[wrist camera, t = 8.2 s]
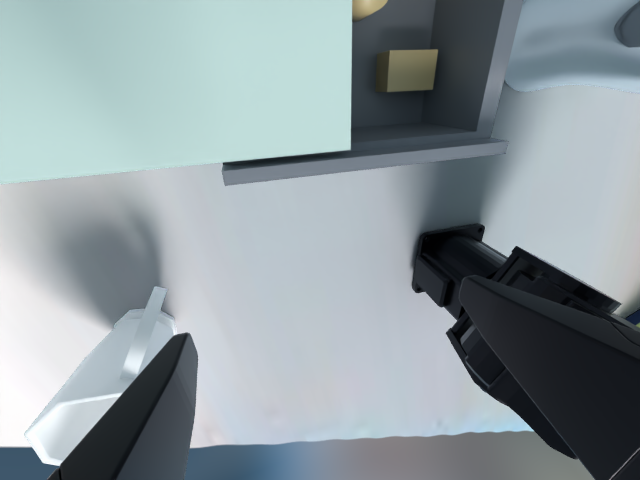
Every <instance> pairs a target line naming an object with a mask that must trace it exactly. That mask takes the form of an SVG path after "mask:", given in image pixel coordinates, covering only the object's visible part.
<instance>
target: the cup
mask: <svg viewBox="0 0 640 480" xmlns="http://www.w3.org/2000/svg"><path fill="white" fill-rule="evenodd" d="M167 290H168V289H166V288H161V287H156V286H155V287H154V289H153V291H152V294H151V296H150V298H149V301H148V303H147V306H146V308H145V309H134V310H129V311H128V312H127V313H126V314H125V315H124V316H123V317H122V318H121V319H119V320H118V321H117V322H116V323H115V325H114V327H113V328H114V329H113V330H112V331H111V332H110V333H109V334H108V335H107V336H106V337H105V338H104V339H103V340H102V341H101V342H100V343H99V344H98V345H97V346H96V347H95V348H94V349H93V350H92V351H91V352H90V353H89V354H88V355H87V356H86V357H85V359H84V360H83V361H82V362H81V364H80V365H79V366H78V367H77V369H76V370H75V371H74V372H73V374H72V375H71V376H70V378H69V379H68V380H67V381H66V383H65V384H64V385H63V386H62V388H61V389H60V390H59V391H58V393H57V394H56V395H55V396H54V397H53V399H52V400H51V401H50V402H49V403H48V405H47V406H46V407H45V408H44V410H43V411H42V412H41V413H40V414H39V416H38V417H37V418H36V419H35V421H34V422H33V423H32V425H31V426H30V427H29V428H28V430H27V431H26V432H25V433H24V435H25V437H26V438H27V440H28V441H29V443H30V444H31V446H32V447H33V449H34V450H35V452H36V453H37V455H38V456H39V458H40V459H41V460H42V462H43V463H46V464H52V465H58V466H60V464H61V463H62V462H63V461H64V459H65V458H66V457H67V456H68V455H69V454H70V453H71V451H72V450H73V449H74V448H75V447H76V446H77V445H78V443H79V442H80V441H81V440H82V439H83V438H84V437H85V435H86V434H87V433H88V432H89V431H90V430H91V429H92V428H93V426H94V425H95V424H96V423H97V422H98V421H99V420H100V418H101V417H102V416H103V415H104V414H105V413H106V412H107V410H108V409H109V408H110V407H111V406H112V405H113V404H114V402H115V401H116V400H117V399H118V398H119V397H120V396H121V394H122V393H123V392H124V391H125V390H126V389H127V388H128V386H129V385H130V384H131V383H132V382H133V381H134V380H135V378H136V377H137V376H138V375H139V374H140V373H141V372H142V371H143V369H144V368H145V367H146V366H147V365H148V364H149V363H150V361H151V360H152V359H153V358H154V357H155V356H156V355H157V353H158V352H159V351H160V350H161V349H162V348H163V347H164V345H165V344H166V343H167V342H168V341H169V340H170V339H171V337H173V336H174V335H177V330H176V325H175V320H174V317H172V316H170V315H168V314H166V313H164V312H162V311H160V310H161V307H162V304H163V301H164V298H165V295H166V293H167Z"/></svg>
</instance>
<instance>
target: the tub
mask: <svg viewBox="0 0 640 480" xmlns="http://www.w3.org/2000/svg"><path fill="white" fill-rule="evenodd" d="M523 1H524V0H352V69H351V150H345V151H335V152H325V153H314V154H304V155H294V156H284V157H274V158H263V159H253V160H243V161H233V162H223V168H222V175H223V179H224V184H225V186H227V185H236V184H245V183H253V182H262V181H271V180H279V179H288V178H297V177H306V176H314V175H323V174H332V173H340V172H349V171H358V170H366V169H375V168H384V167H393V166H401V165H410V164H419V163H427V162H436V161H445V160H453V159H462V158H471V157H480V156H488V155H497V154H505V153H506V150H507V146H508V142H509V141H504V140H498V139H493V138H490V137H491V133H492V129H493V125H494V120H495V116H496V112H497V108H498V104H499V100H500V96H501V92H502V87H503V83H504V79H505V75H506V71H507V67H508V63H509V58H510V54H511V50H512V46H513V42H514V38H515V34H516V29H517V25H518V21H519V17H520V13H521V9H522V5H523Z"/></svg>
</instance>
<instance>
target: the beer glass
mask: <svg viewBox="0 0 640 480" xmlns="http://www.w3.org/2000/svg"><path fill="white" fill-rule="evenodd" d="M504 80H505V81H506V83H507V84H508V85H509V86H510V87H511V88H512V89H514V90H517V91H520V92H531V91H536V90H541V89H546V88H551V87H555V86H562V85H589V86H596V87H603V88H608V89H614V90H619V91H625V92H631V93H637V94H640V0H525V1H524V2H523V5H522V9H521V13H520V17H519V21H518V25H517V29H516V34H515V38H514V42H513V46H512V50H511V54H510V58H509V63H508V67H507V71H506V75H505V79H504Z"/></svg>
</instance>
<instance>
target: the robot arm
mask: <svg viewBox="0 0 640 480" xmlns="http://www.w3.org/2000/svg"><path fill="white" fill-rule="evenodd" d="M484 230H485V227H484V226H483V225H481V224H473V225H467V226H461V227H455V228H450V229H444V230H438V231H432V232H427V233H423V234H422V235H421V236H420V240H419V247H418V254H417V258H416V265H415V271H414V278H413V279H414V280H413V287H412V288H413V290H414V291H415V292H416V293H421V292H426V293H427V294H428V295H429V296H430V297H431V299H432V300H433V301H434V302H435V303H436V304H437V305H438V306H439V307H445V309H446V310H447V311H448V312H449V313H450V314H451V315H452V316H453V317H454V318H455V319H456V320H457V322H456V323H455V324H454V326H453V327H452V328H450V329H449V330H448V331H447V332H446V334H447V336H448V338H449V340H450V341H451V344H452V345H453V347H454V349H455V350H456V352H457V354H458V355H459V357H460V359H461V361H462V362H463V364H464V366H465V367H466V369H467V371H468V373H469V374H470V376H471V378H472V379H473V381H474V382H475V383H476V384H477V385H478V386H479V387H480V388H481V389H482V390H483V391H484V392H486V393H488V394H489V395H490V396H492V397H493V398H494V399H496V400H497V401H499V402H501V403H502V404H504V405H507V406H509V407H510V408H511V409H512V410H513V411H514V412H516V413H517V414H518V415H519V416H520V417H521V418H522V419H523V420H524V421H525V422H526V423H527V424H528V425H529V426H530V427H531V428H532V429H533V430H534V431H535V432H536V433H537V434H538V435H539V436H540V437H541V438H542V439H543V440H544V441H545V442H546V443H547V444H548V445H549V446H550V447H552V448H553V449H555V450H557V451H559V452H561V453H563V454H565V455H566V456H568V457H570V458H573V459H579V460H580V461H581V462H582V464H583V465H584V466H585V468H586V469H587V470H588V471H589V473H590V474H591V475H592V476H593V478H594V479H595V480H640V328H639V327H637V326H635V325H634V324H632V323H630V322H629V321H627V320H625V319H623V318H622V317H620V316H618V315H616V314H615V313H613V312H614V311H615V310H616V309H617V308H618V307H619V306H620V305H621V303H620V302H618V301H616V300H614V299H613V298H611V297H609V296H608V295H606V294H604V293H602V292H601V291H599V290H597V289H595V288H594V287H592V286H590V285H588V284H587V283H585V282H583V281H581V280H580V279H578V278H576V277H574V276H572V275H571V274H569V273H567V272H565V271H563V270H561V269H559V268H558V267H556V266H554V265H552V264H550V263H548V262H546V261H545V260H543V259H541V258H539V257H537V256H535V255H533V254H531V253H529V252H527V251H525V250H523V249H521V248H519V247H517V246H516V247H515V248H514V249H513V250H512V254H511V255H510V256H509V258H508V257H506V256H504V255H503V254H501V253H500V252H498V251H496V250H495V249H493V248H491V247H490V246H488V245H487V244H485V243H483V242H482V238H483V234H484ZM426 238H427V239H426ZM425 239H426V240H425ZM197 368H198V354H197V350H196V348H195V345H194V342H193V340H192V337H191V335H190V334H189V333H182V334H177V335H174V336H173V337H171V339H170V340H169V341H168V342H167V343H166V344H165V345H164V347H163V348H162V349H161V350H160V351H159V352H158V353H157V355H156V356H155V357H154V358H153V359H152V360H151V361H150V363H149V364H148V365H147V366H146V367H145V368H144V369H143V371H142V372H141V373H140V374H139V375H138V376H137V377H136V378H135V380H134V381H133V382H132V383H131V384H130V385H129V386H128V388H127V389H126V390H125V391H124V392H123V393H122V394H121V396H120V397H119V398H118V399H117V400H116V401H115V402H114V404H113V405H112V406H111V407H110V408H109V409H108V410H107V412H106V413H105V414H104V415H103V416H102V417H101V418H100V420H99V421H98V422H97V423H96V424H95V425H94V426H93V428H92V429H91V430H90V431H89V432H88V433H87V434H86V435H85V437H84V438H83V439H82V440H81V441H80V442H79V443H78V445H77V446H76V447H75V448H74V449H73V450H72V451H71V453H70V454H69V455H68V456H67V457H66V458H65V459H64V461H63V462H62V463H61V464H60V468H58V469H56V470H55V471H54V472H53V473H52V474H51V475H50V476H49V478H48V479H47V480H184V478H185V472H186V465H187V460H188V454H189V448H190V442H191V436H192V430H193V424H194V416H195V406H196V387H197Z"/></svg>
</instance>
